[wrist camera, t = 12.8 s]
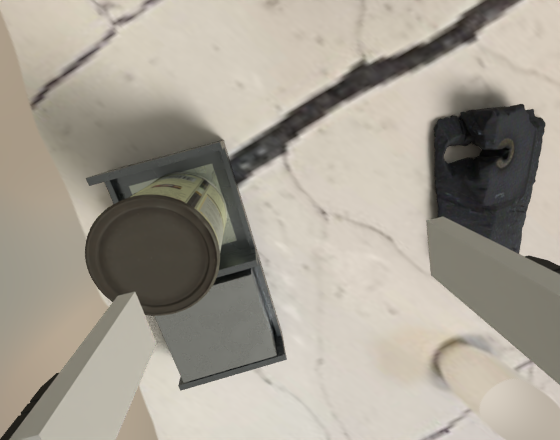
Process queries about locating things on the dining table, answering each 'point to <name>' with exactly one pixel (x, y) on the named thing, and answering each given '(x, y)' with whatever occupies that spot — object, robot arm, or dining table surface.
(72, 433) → the robot arm
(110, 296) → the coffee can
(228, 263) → the rack
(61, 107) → the dining table surface
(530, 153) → the black pouch
